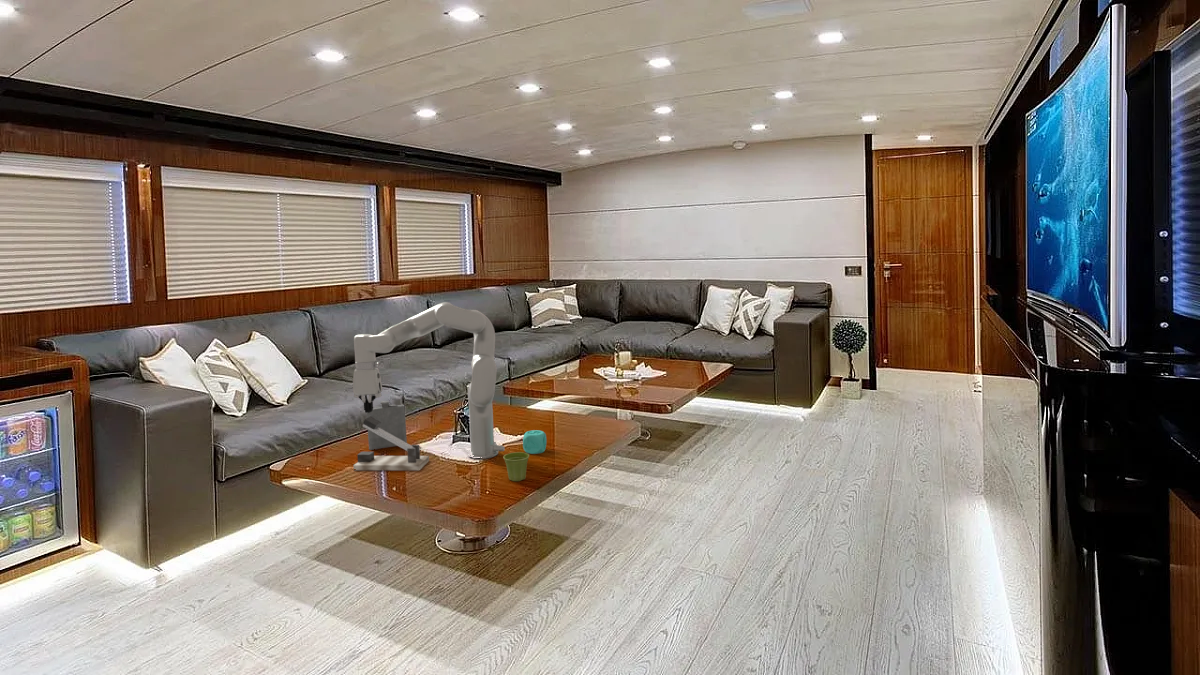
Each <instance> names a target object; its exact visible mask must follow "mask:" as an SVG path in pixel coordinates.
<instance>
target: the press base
mask: <svg viewBox="0 0 1200 675" xmlns="http://www.w3.org/2000/svg"><path fill="white" fill-rule="evenodd" d="M410 445H411V446H413V447H415V448H408V449H407V451H406V452H407V455H375V451H360V452H359V453H358V454H357V455H356V456H357V462H356V463H355V464H353V470H354V469H356V470H355V471H420V470H421V469H423V468H424V466H425V465H427V463H429V461H430V455H421V453H420V452H421V450H420V444H410Z"/></svg>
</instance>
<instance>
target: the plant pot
mask: <svg viewBox="0 0 1200 675" xmlns="http://www.w3.org/2000/svg"><path fill="white" fill-rule="evenodd" d="M529 458H530V454H529V453H526V452H523V451H522V452H521V451H519V452H518V451H515V452H510V453H506V454H504V455H503V460H504V462H505V465H506V471H507V476H508V480H510V481H512V482H520V481H522V480H523V481H524V480H525V479H526V476H527V466H528V460H529Z"/></svg>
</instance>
